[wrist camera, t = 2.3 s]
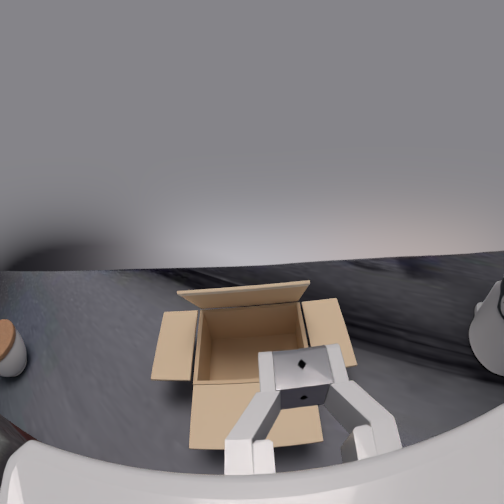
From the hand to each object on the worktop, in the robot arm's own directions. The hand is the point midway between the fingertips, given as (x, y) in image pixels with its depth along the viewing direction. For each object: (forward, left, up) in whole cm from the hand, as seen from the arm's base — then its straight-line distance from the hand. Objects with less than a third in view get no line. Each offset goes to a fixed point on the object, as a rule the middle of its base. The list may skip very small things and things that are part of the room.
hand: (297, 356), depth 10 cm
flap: (+3, -22, -21) cm, 31 cm away
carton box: (+3, -12, -28) cm, 30 cm away
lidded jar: (+50, -14, -28) cm, 59 cm away
